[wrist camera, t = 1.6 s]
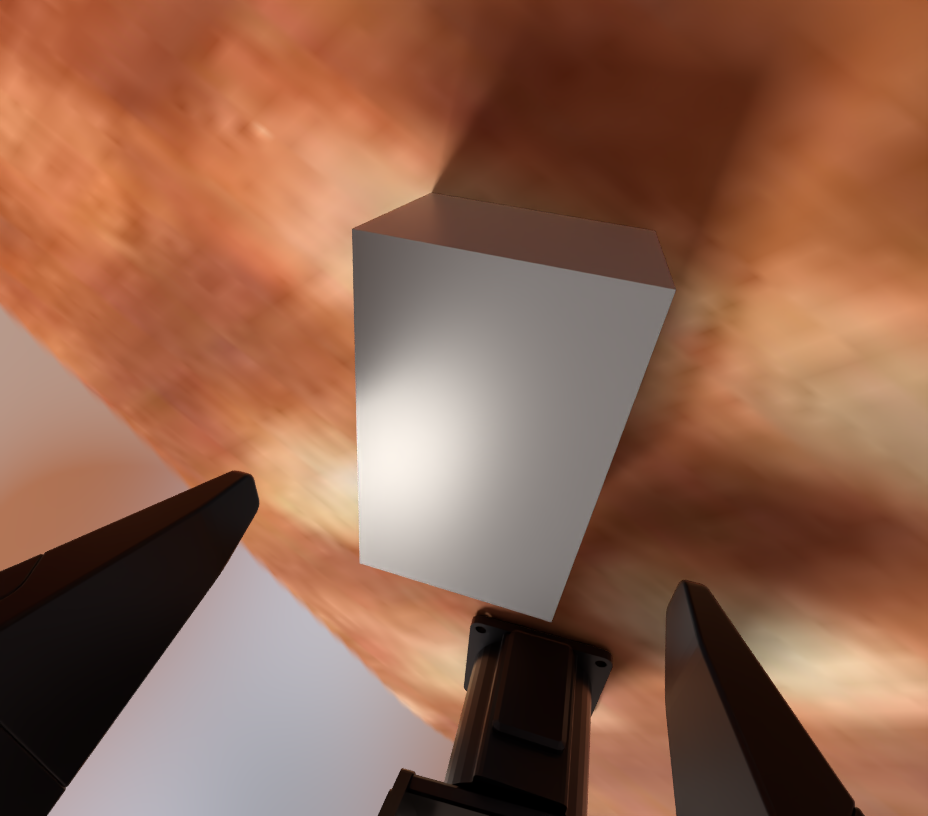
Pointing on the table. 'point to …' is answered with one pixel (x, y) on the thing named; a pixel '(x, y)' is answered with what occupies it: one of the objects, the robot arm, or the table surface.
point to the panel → (494, 388)
